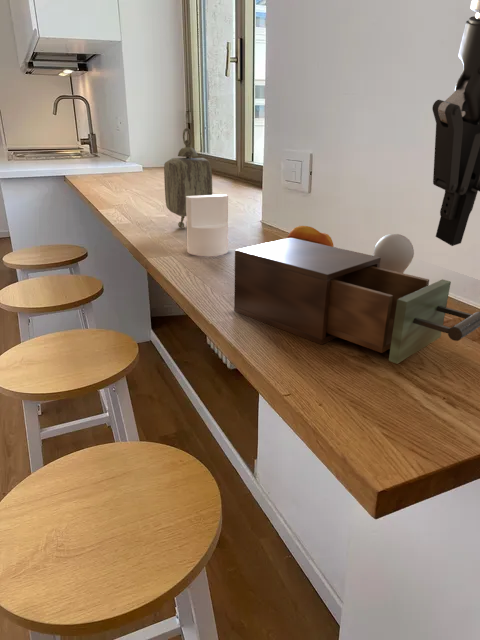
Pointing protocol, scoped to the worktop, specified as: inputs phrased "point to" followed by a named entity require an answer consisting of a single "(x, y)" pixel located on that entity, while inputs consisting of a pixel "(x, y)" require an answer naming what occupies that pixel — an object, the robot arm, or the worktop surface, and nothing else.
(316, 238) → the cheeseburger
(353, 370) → the worktop surface
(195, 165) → the cowbell
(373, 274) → the drawer
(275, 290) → the cabinet
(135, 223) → the worktop surface
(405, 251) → the lightbulb
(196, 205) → the base with upright slab
